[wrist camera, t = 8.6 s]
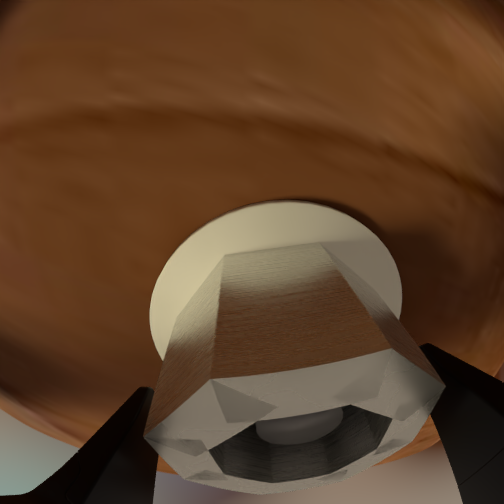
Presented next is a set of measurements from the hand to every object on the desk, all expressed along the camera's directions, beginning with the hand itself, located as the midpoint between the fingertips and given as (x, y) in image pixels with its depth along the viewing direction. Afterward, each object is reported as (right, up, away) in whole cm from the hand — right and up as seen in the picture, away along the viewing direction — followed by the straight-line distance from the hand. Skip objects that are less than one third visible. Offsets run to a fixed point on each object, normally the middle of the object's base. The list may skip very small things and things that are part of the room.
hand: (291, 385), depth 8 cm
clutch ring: (0, +1, +2) cm, 2 cm away
